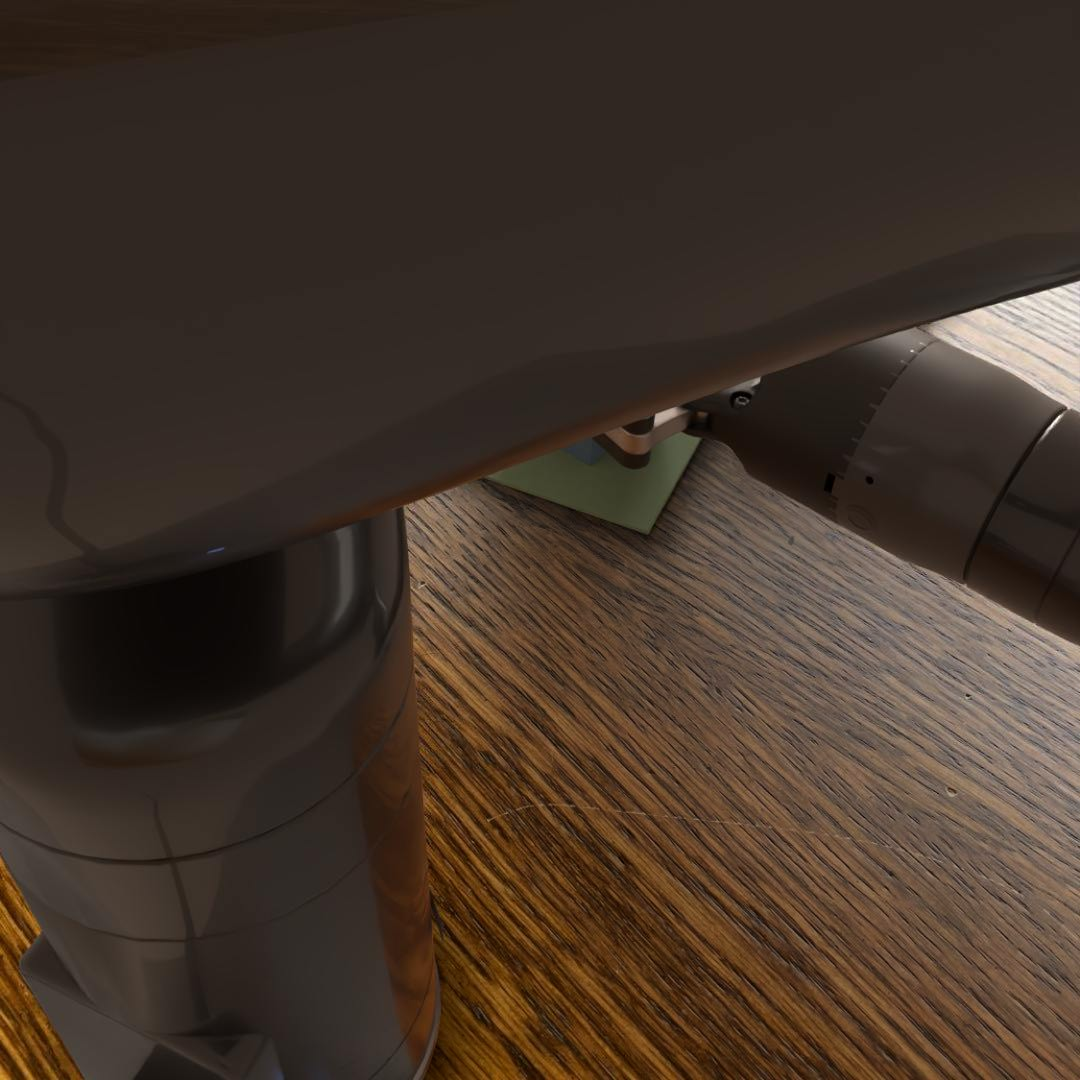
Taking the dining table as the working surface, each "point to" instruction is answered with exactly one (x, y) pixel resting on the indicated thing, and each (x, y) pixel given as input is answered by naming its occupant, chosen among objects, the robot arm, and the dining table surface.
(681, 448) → the mat
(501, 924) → the dining table surface
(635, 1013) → the dining table surface
